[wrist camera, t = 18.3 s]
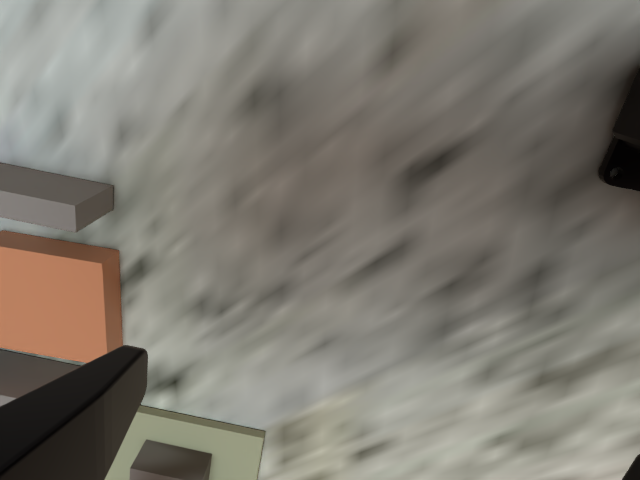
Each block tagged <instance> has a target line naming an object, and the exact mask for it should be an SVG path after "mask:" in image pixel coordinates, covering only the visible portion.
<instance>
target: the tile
mask: <svg viewBox="0 0 640 480" xmlns="http://www.w3.org/2000/svg"><path fill="white" fill-rule="evenodd" d="M121 346H123V340H122V316H121V291H120V267H119V250H115V249H109V248H103V247H97V246H91V245H85V244H79V243H74V242H68V241H62V240H56V239H50V238H44V237H38V236H32V235H27V234H21V233H15V232H9V231H3V230H2V231H0V348H6V349H11V350H17V351H23V352H28V353H34V354H40V355H45V356H51V357H57V358H63V359H68V360H74V361H80V362H85V363H88V362H90V361H92V360H94V359H96V358H98V357H100V356H102V355H104V354H106V353H108V352H110V351H112V350H114V349H116V348H119V347H121Z"/></svg>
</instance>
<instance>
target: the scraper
mask: <svg viewBox="0 0 640 480" xmlns="http://www.w3.org/2000/svg"><path fill="white" fill-rule="evenodd" d="M211 459H212V454H211V453H206V452H202V451H197V450H193V449H188V448H184V447H179V446H174V445H170V444H165V443H161V442H156V441H152V440H147V439H146V441H145V442H144V444H143V446H142V448H141V449H140V451H139V453H138V455H137V457H136V458H135V460H134V462H133V464H132V465H131V467H130V480H209V474H210V467H211Z"/></svg>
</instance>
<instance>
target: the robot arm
mask: <svg viewBox="0 0 640 480" xmlns="http://www.w3.org/2000/svg"><path fill="white" fill-rule="evenodd" d="M613 133H614V137H613V140H612V142H611V144H610V146H609V149H608V151H607V153H606V156H605V158H604V160H603V162H602V165H601V167H600V169H599V178H600V179H601V180H602V181H603V182H605V183H607V184H609V185H611V186H616V187H621V188H626V189H632V190H637V191H640V69H639V71H638V73H637V75H636V78H635V80H634V82H633V85H632V87H631V89H630V91H629V94H628V96H627V98H626V101H625V103H624V105H623V108H622V110H621V112H620V114H619V117H618V119H617V121H616V124H615V126H614V128H613ZM614 168H618V173H617V174H616V176H614V177H610V172H611V171H612V170H613V169H614ZM147 367H148V354H147V351H146V350H145V349H143V348H138V347H133V346H129V345H124V346H121V347H119V348H116V349H114V350H112V351H110V352H108V353H106V354H104V355H102V356H100V357H98V358H96V359H94V360H92V361H90V362H88V363H86V364H84V365H82V366H80V367H78V368H76V369H74V370H72V371H70V372H68V373H66V374H64V375H62V376H60V377H58V378H56V379H54V380H52V381H50V382H48V383H46V384H44V385H42V386H40V387H38V388H36V389H34V390H32V391H30V392H28V393H26V394H24V395H22V396H20V397H18V398H16V399H14V400H12V401H10V402H8V403H6V404H4V405H2V406H0V480H105V478H106V476H107V474H108V472H109V470H110V468H111V466H112V464H113V461H114V459H115V457H116V455H117V453H118V451H119V449H120V447H121V444H122V442H123V440H124V438H125V436H126V434H127V432H128V430H129V427H130V425H131V423H132V421H133V419H134V417H135V415H136V412H137V410H138V408H139V406H140V404H141V402H142V400H143V397H144V395H145V392H146V387H147ZM622 480H640V454H639V455H638V456H637V457H636V458H635V460H634V462H633V463H632V465H631V466H630V468H629V469H628V471H627V472H626V474H625V476H624V477H623V479H622Z"/></svg>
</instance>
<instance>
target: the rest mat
mask: <svg viewBox="0 0 640 480" xmlns="http://www.w3.org/2000/svg"><path fill="white" fill-rule="evenodd" d="M264 437H265V431H261V430H256V429H251V428H246V427H241V426H237V425H232V424H227V423H222V422H217V421H213V420H208V419H203V418H198V417H193V416H189V415H184V414H179V413H174V412H169V411H165V410H160V409H155V408H150V407H145V406H141V405H140V406H139V408H138V410H137V412H136V415H135V417H134V419H133V421H132V423H131V425H130V427H129V430H128V432H127V434H126V436H125V438H124V440H123V442H122V444H121V447H120V449H119V451H118V453H117V455H116V457H115V459H114V461H113V464H112V466H111V468H110V470H109V472H108V474H107V476H106V478H105V480H130V467H131V465H132V464H133V462H134V460H135V458H136V457H137V455H138V453H139V451H140V449H141V448H142V446H143V444H144V442H145V441H146V439H147V440H152V441H156V442H161V443H165V444H170V445H174V446H179V447H184V448H188V449H193V450H197V451H202V452H206V453H211V454H212V459H211V467H210V474H209V480H257V477H258V471H259V465H260V459H261V454H262V448H263V442H264Z"/></svg>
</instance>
